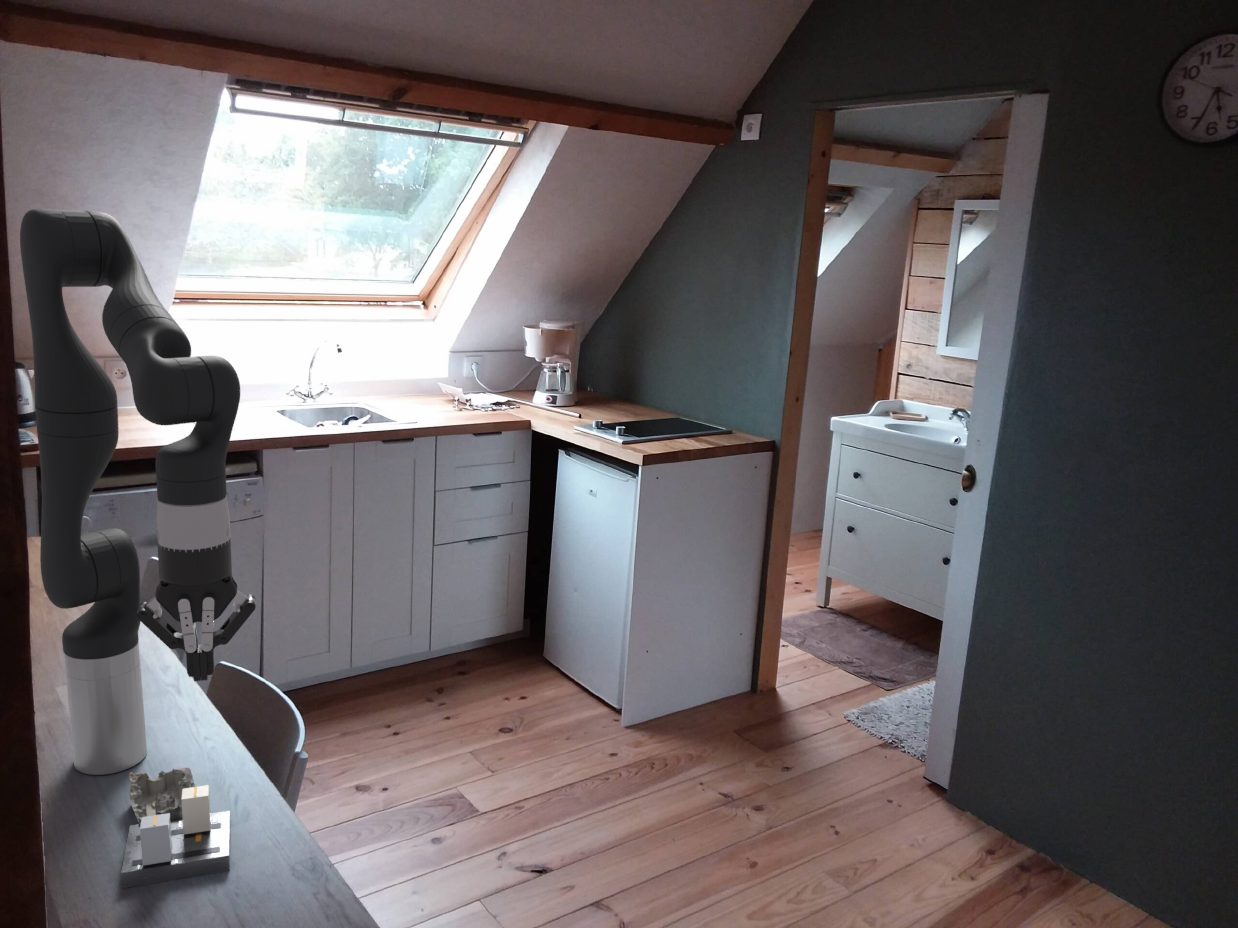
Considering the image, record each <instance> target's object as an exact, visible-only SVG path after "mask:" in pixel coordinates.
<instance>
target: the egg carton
mask: <svg viewBox="0 0 1238 928" xmlns="http://www.w3.org/2000/svg"><path fill="white" fill-rule="evenodd" d="M128 776H129V784H130V785H129V786H130V789H129V799H130V802H131V808H132V810H133V812H134V816H135V817H136V820H137V822H138V824H141V819H142V817H146V816H153V815H160V814H167V813H170V819H177V818H183V816H182V800H181V799H182V789H184V788H191V787H196V785H195V781H194V777H193V773H192V771H191V768H189V767H182V768H180V769H178V768H177V769H176V768H172V770H170V771H167V772H165V771H163V770H162V771H159V773H158V776H156V777H152V778H150V777H149V774H148V773H147V772H140V773H137V774H135V773H134V772H133V771H129V775H128Z"/></svg>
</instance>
